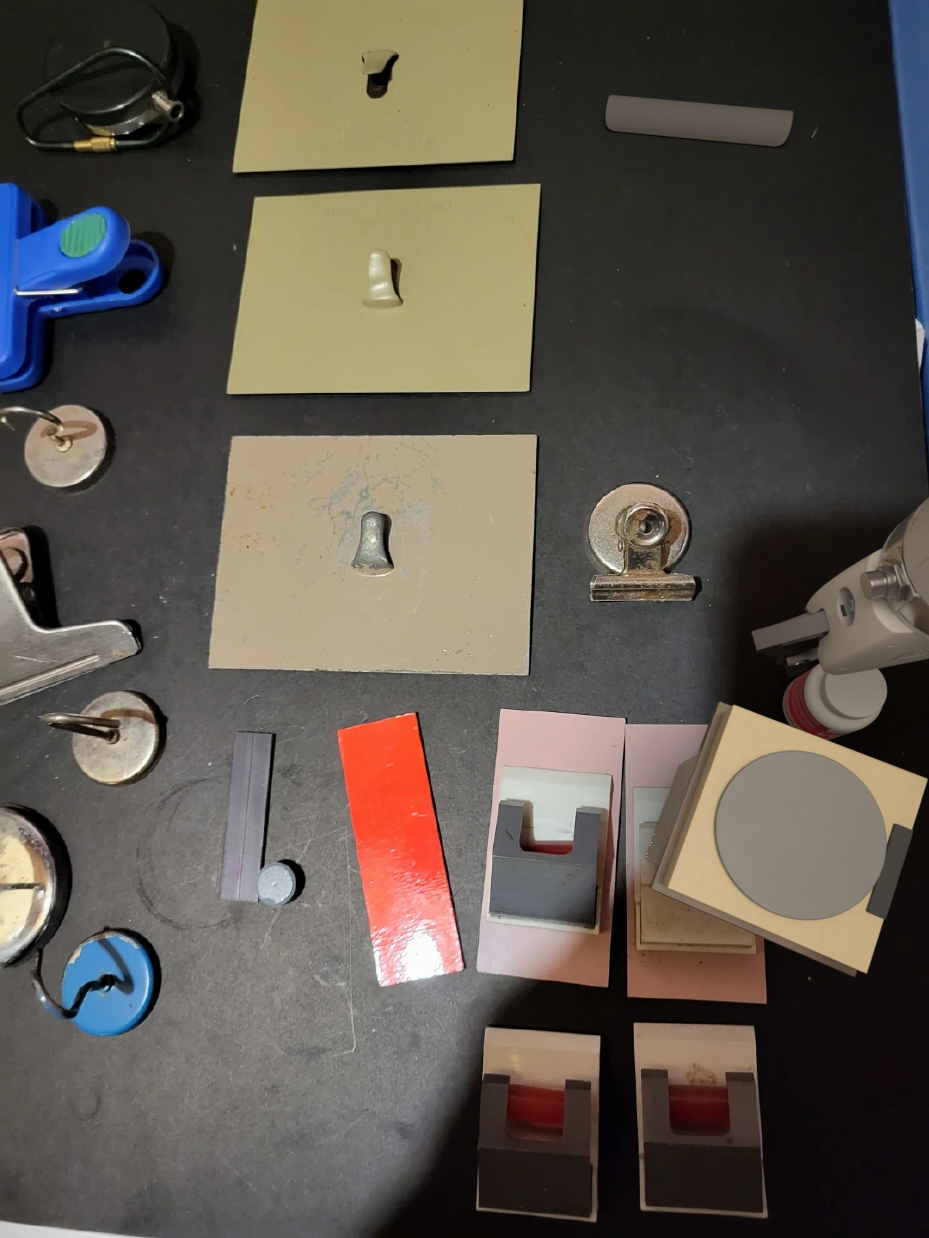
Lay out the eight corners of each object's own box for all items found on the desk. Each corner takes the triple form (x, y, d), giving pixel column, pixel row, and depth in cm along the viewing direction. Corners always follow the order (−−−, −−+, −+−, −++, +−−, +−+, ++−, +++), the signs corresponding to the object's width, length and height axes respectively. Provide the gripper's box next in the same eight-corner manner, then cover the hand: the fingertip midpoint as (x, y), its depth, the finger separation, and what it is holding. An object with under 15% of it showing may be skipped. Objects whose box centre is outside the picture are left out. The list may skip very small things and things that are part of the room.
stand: (799, 794, 77) (918, 776, 51) (754, 925, 75) (855, 977, 49) (668, 742, 79) (719, 700, 53) (622, 868, 77) (650, 888, 51)
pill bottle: (803, 752, 77) (841, 740, 67) (768, 691, 79) (799, 670, 68) (865, 722, 77) (913, 705, 67) (829, 662, 79) (870, 636, 68)
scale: (907, 781, 51) (932, 778, 47) (849, 965, 49) (870, 975, 45) (724, 711, 53) (735, 702, 49) (661, 884, 51) (668, 888, 47)
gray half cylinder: (609, 99, 96) (610, 85, 94) (791, 115, 93) (795, 102, 91) (602, 131, 95) (603, 118, 93) (786, 148, 92) (790, 135, 90)
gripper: (813, 676, 42) (744, 719, 59) (1181, 603, 41) (1005, 668, 57) (771, 533, 44) (716, 614, 61) (1122, 459, 43) (968, 562, 59)
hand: (857, 640), depth 59 cm, fingers open, 9 cm apart
